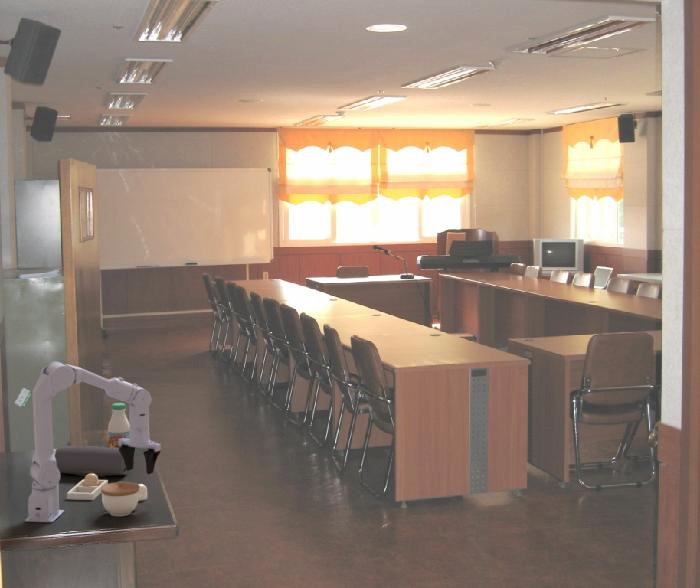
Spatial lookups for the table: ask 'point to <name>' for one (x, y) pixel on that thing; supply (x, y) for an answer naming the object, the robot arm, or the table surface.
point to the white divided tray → (86, 491)
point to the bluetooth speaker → (90, 460)
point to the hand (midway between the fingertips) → (139, 471)
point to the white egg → (142, 492)
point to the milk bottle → (118, 425)
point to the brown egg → (91, 480)
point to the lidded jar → (120, 497)
